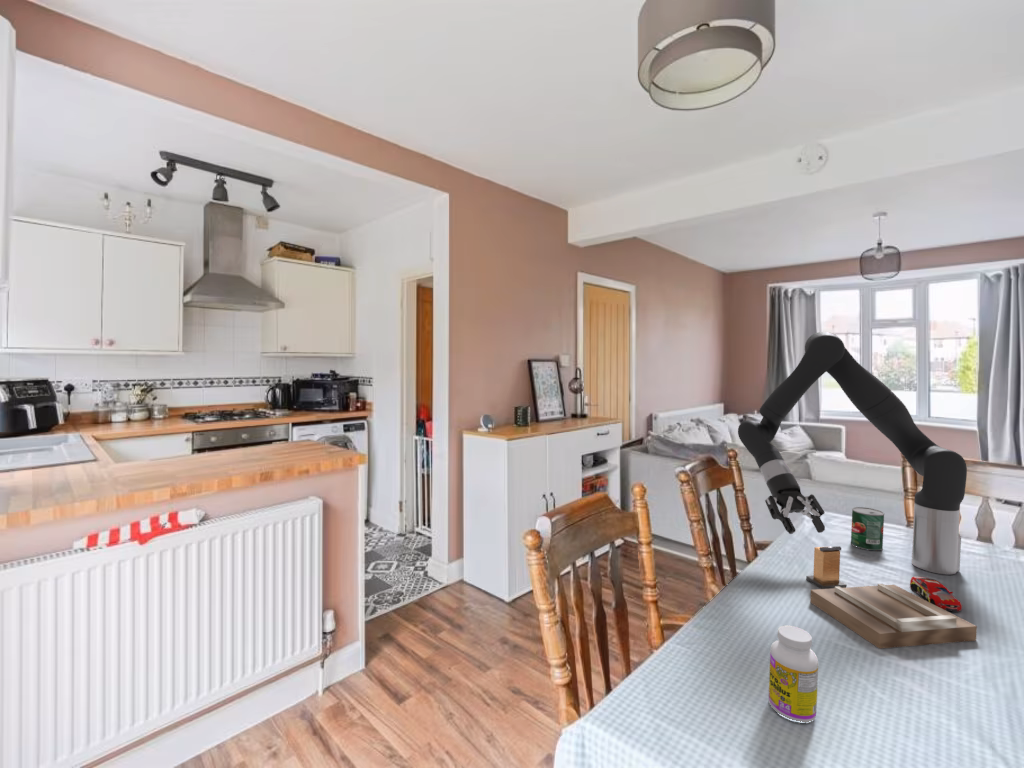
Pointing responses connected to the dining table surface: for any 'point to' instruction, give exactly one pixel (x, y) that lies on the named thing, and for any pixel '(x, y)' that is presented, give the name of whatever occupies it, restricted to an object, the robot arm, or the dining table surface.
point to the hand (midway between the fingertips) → (807, 532)
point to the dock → (892, 616)
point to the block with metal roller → (826, 568)
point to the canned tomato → (867, 528)
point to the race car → (935, 593)
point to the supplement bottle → (793, 675)
